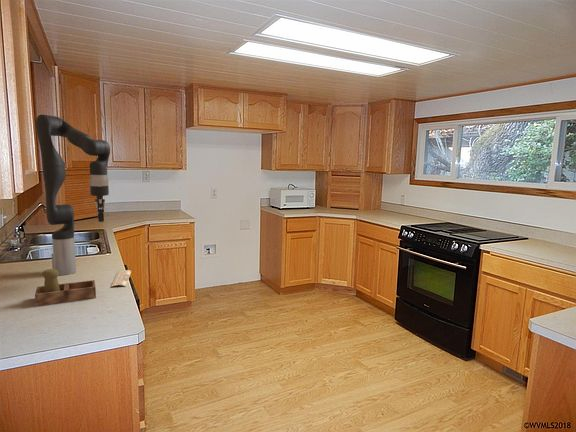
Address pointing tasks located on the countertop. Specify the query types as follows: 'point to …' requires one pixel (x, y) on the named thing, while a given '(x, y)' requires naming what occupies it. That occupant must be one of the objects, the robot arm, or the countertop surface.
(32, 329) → the countertop surface
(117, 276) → the newspaper
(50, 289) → the cork
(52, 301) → the walnut caddy
